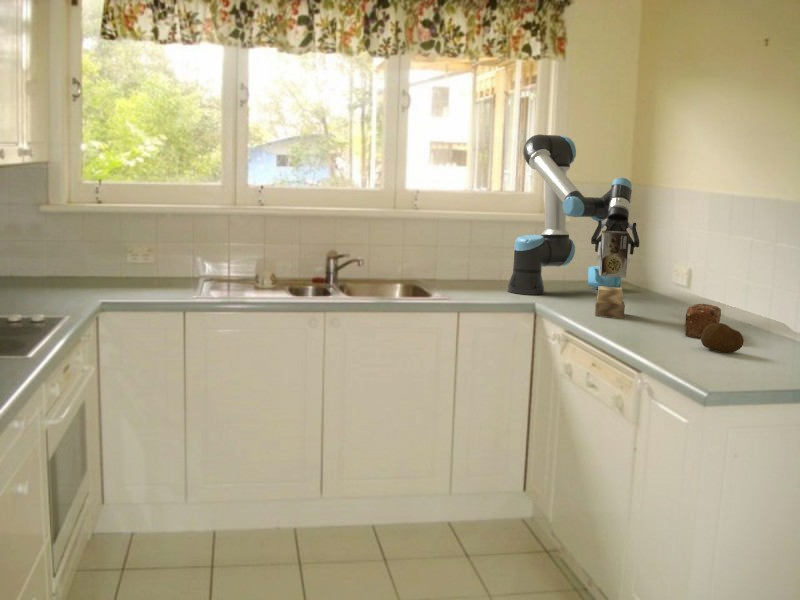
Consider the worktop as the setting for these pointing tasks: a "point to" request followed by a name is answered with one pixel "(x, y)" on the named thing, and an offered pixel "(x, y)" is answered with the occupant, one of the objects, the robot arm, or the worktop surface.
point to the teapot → (601, 279)
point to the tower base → (609, 310)
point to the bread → (700, 318)
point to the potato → (721, 338)
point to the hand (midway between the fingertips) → (613, 259)
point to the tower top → (609, 295)
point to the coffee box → (613, 254)
